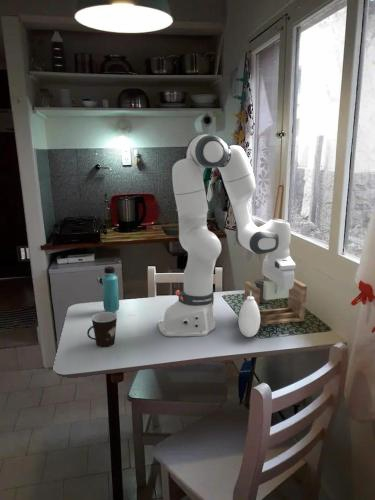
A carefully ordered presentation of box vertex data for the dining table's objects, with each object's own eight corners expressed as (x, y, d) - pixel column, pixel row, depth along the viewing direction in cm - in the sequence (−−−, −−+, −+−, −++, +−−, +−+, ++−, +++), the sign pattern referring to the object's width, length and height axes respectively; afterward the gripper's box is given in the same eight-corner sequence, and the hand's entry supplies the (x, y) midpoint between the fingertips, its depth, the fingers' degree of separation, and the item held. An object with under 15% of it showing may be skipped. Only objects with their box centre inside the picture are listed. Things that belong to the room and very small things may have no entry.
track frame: (253, 326, 149) (255, 290, 145) (243, 316, 158) (245, 282, 154) (303, 321, 154) (307, 286, 150) (291, 311, 163) (294, 278, 160)
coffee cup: (257, 304, 170) (258, 283, 168) (250, 298, 178) (251, 278, 175) (274, 303, 172) (275, 282, 169) (267, 297, 179) (268, 277, 177)
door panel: (266, 300, 151) (267, 284, 149) (263, 297, 154) (263, 281, 152) (289, 298, 153) (290, 281, 151) (285, 295, 156) (286, 279, 154)
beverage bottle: (122, 313, 159) (120, 267, 155) (107, 317, 156) (105, 270, 151) (115, 308, 165) (113, 264, 160) (101, 311, 161) (98, 266, 156)
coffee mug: (112, 335, 140) (111, 310, 138) (121, 345, 133) (120, 318, 131) (81, 343, 134) (79, 317, 132) (89, 354, 127) (87, 326, 125)
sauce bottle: (236, 331, 144) (238, 286, 140) (257, 331, 145) (259, 286, 140) (239, 341, 137) (241, 294, 133) (261, 341, 137) (264, 294, 133)
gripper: (259, 253, 159) (257, 284, 162) (282, 267, 139) (280, 302, 143) (273, 252, 160) (271, 283, 164) (298, 265, 141) (295, 300, 144)
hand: (275, 292), depth 153 cm, fingers closed on door panel, 2 cm apart
